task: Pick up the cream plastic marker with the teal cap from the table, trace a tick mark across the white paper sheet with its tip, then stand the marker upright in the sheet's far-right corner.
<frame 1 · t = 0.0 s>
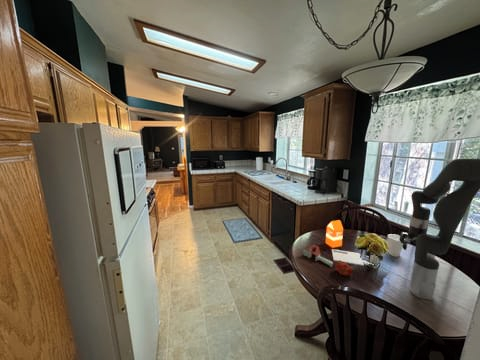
hand: (413, 250, 114), 17 cm above the table, tool pointing down, fingers open, 8 cm apart
foam cup: (393, 254, 140), on the table
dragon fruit: (343, 273, 121), on the table
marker: (372, 264, 129), on the table
paper sheet: (346, 257, 137), on the table
tape dispenser: (316, 258, 137), on the table
orange juice: (333, 244, 154), on the table
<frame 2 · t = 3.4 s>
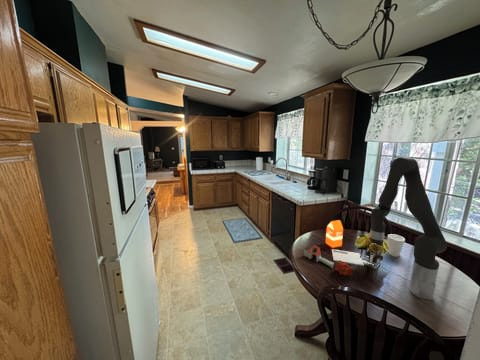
hand: (373, 260, 129), 3 cm above the table, tool pointing down, fingers closed on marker, 3 cm apart
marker: (372, 264, 129), on the table, touching gripper
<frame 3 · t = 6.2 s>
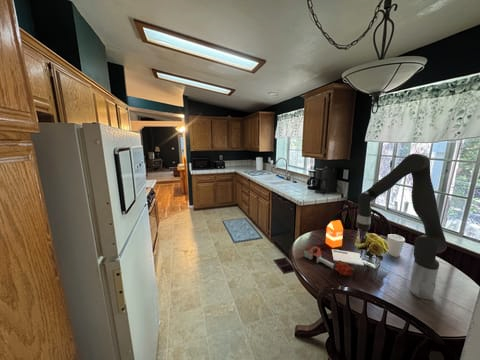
hand: (360, 245, 131), 12 cm above the table, tool pointing down, fingers closed on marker, 3 cm apart
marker: (360, 248, 131), point 9 cm above the table, touching gripper
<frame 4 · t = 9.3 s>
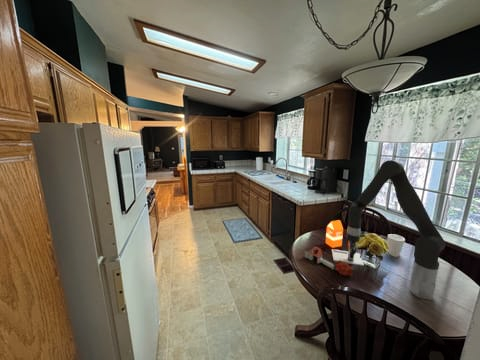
hand: (350, 256, 132), 4 cm above the table, tool pointing down, fingers closed on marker, 3 cm apart
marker: (350, 259, 133), point 1 cm above the table, touching gripper
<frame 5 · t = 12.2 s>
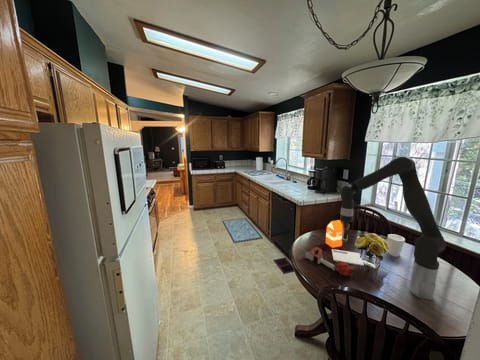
hand: (344, 237, 135), 15 cm above the table, tool pointing down, fingers closed on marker, 3 cm apart
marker: (344, 240, 136), point 12 cm above the table, touching gripper
when the fingers open (4 cm above the table, at t = 15.1 s): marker stays where it is, resting on paper sheet.
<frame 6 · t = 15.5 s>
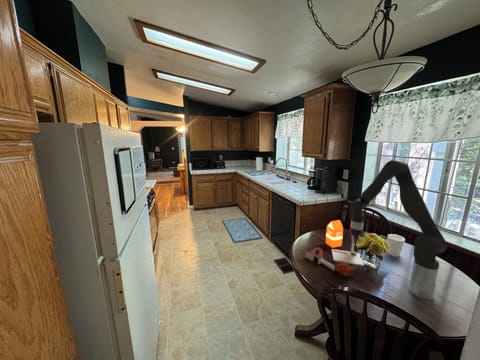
hand: (354, 248, 138), 5 cm above the table, tool pointing down, fingers open, 8 cm apart
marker: (353, 254, 139), point 1 cm above the table, touching paper sheet
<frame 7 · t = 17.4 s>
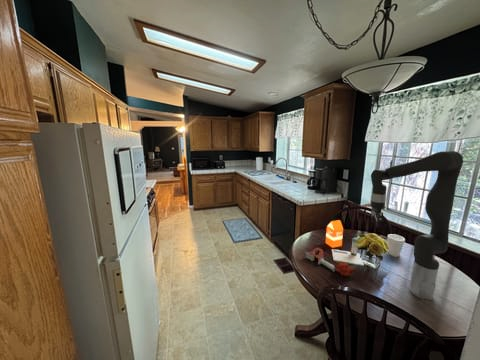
hand: (375, 224, 127), 27 cm above the table, tool pointing down, fingers open, 8 cm apart
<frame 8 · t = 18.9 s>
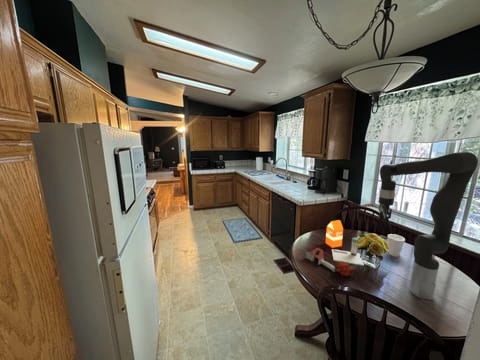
hand: (383, 221, 124), 30 cm above the table, tool pointing down, fingers open, 8 cm apart
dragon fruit: (344, 274, 121), on the table, touching tape dispenser
tape dispenser: (319, 262, 133), on the table, touching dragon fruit
everything else where it was.
at the end: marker 0.0 cm from the target spot on the paper sheet, point 0.8 cm above the paper sheet's base; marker tilted 1°; the gripper is holding nothing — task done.
